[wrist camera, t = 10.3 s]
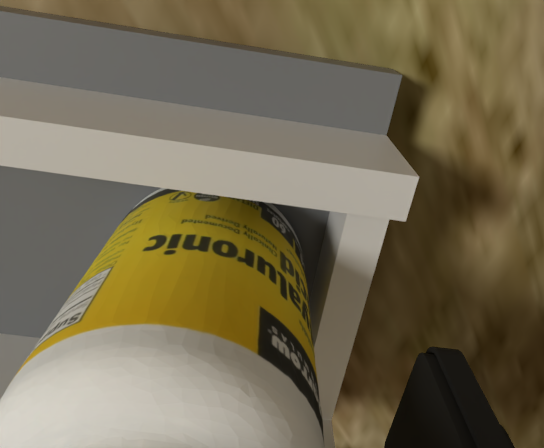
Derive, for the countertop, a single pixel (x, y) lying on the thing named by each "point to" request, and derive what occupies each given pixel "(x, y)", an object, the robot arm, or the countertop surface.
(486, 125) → the countertop surface
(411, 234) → the countertop surface
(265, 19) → the countertop surface
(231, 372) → the supplement bottle
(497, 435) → the robot arm
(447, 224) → the countertop surface
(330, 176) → the lane
